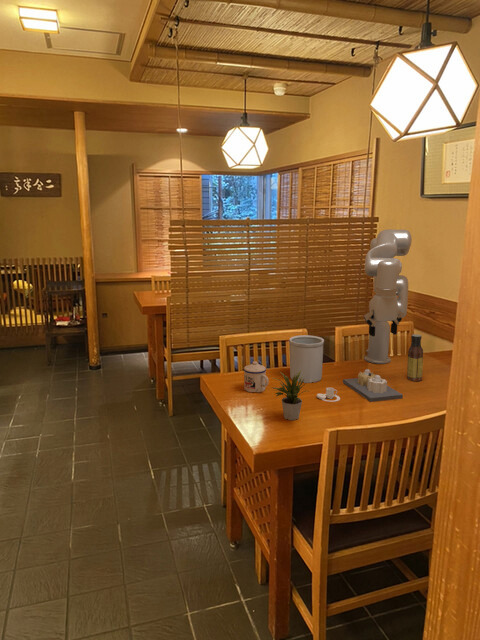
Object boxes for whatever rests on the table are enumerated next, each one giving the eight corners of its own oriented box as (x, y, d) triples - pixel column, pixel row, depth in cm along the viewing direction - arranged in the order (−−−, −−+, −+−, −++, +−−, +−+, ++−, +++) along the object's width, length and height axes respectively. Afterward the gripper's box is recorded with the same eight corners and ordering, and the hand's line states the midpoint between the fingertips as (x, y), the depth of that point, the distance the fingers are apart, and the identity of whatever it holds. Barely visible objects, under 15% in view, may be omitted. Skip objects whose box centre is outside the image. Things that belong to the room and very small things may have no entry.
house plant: (278, 405, 170) (279, 363, 167) (314, 411, 165) (316, 368, 162) (265, 420, 157) (266, 375, 154) (304, 427, 152) (306, 380, 149)
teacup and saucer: (315, 400, 176) (315, 390, 175) (319, 393, 183) (320, 384, 182) (338, 404, 173) (338, 393, 172) (341, 396, 180) (342, 386, 179)
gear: (363, 387, 185) (364, 378, 184) (379, 386, 186) (380, 376, 186) (373, 394, 178) (374, 384, 177) (390, 392, 180) (390, 382, 179)
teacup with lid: (238, 388, 187) (239, 361, 185) (254, 383, 193) (255, 357, 191) (259, 397, 178) (259, 368, 176) (275, 391, 184) (276, 363, 182)
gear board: (342, 382, 195) (343, 365, 193) (372, 379, 198) (373, 362, 197) (370, 401, 174) (371, 382, 172) (402, 398, 177) (404, 379, 176)
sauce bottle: (419, 377, 202) (423, 333, 198) (423, 382, 196) (427, 337, 192) (404, 376, 202) (407, 333, 198) (407, 381, 196) (411, 336, 192)
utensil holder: (299, 385, 191) (301, 345, 187) (282, 375, 204) (283, 337, 201) (329, 380, 197) (331, 341, 193) (310, 370, 210) (311, 333, 207)
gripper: (399, 289, 184) (396, 330, 188) (360, 291, 180) (358, 333, 184) (410, 292, 177) (407, 335, 181) (370, 295, 172) (368, 338, 177)
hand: (382, 334), depth 182 cm, fingers open, 9 cm apart
